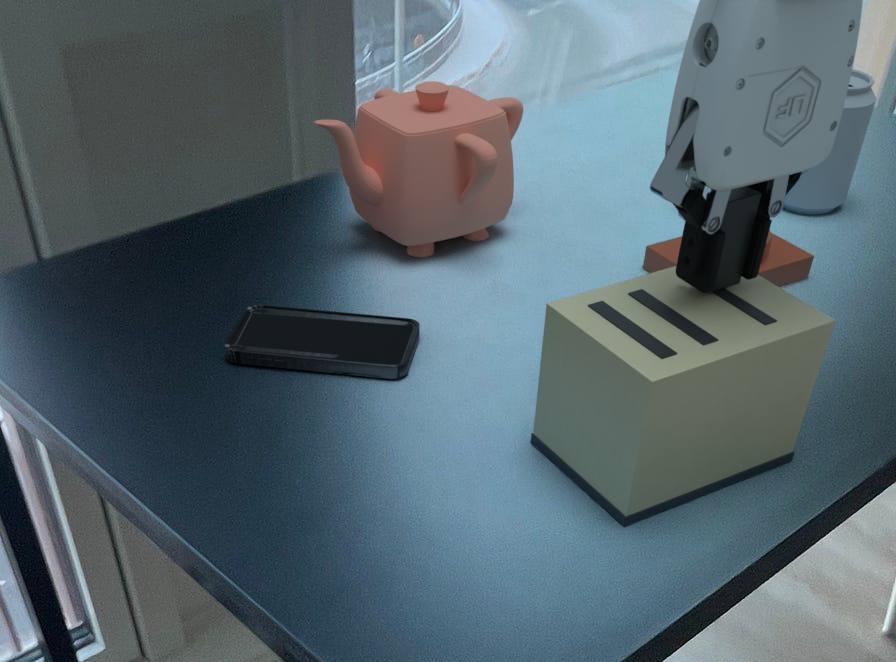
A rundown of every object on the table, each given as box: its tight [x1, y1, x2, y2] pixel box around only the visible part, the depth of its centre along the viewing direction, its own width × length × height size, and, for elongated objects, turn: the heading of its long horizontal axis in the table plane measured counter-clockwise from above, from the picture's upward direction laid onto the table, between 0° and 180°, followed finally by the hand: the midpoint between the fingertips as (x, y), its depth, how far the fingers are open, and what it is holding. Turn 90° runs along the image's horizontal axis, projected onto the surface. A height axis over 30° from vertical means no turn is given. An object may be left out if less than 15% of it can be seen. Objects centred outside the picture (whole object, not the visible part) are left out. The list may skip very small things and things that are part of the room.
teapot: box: [314, 80, 524, 258], centre depth 94 cm, size 17×16×13 cm
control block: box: [642, 229, 815, 288], centre depth 91 cm, size 12×9×4 cm
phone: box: [224, 304, 421, 380], centre depth 83 cm, size 8×1×15 cm
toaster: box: [530, 266, 837, 527], centre depth 69 cm, size 15×11×11 cm
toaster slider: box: [706, 186, 761, 293], centre depth 65 cm, size 3×2×6 cm, turn 120°
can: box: [782, 68, 877, 215], centre depth 99 cm, size 8×8×12 cm
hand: (716, 274), depth 67 cm, fingers closed on toaster slider, 3 cm apart
